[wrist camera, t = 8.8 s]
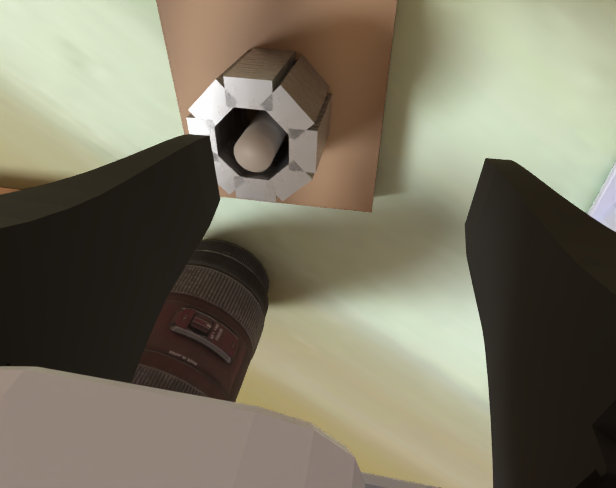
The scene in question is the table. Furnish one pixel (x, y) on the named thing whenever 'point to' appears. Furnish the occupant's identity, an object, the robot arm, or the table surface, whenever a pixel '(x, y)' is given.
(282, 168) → the ring
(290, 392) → the table surface
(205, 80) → the shaft stand
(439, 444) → the table surface
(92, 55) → the table surface
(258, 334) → the camera lens
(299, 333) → the table surface
